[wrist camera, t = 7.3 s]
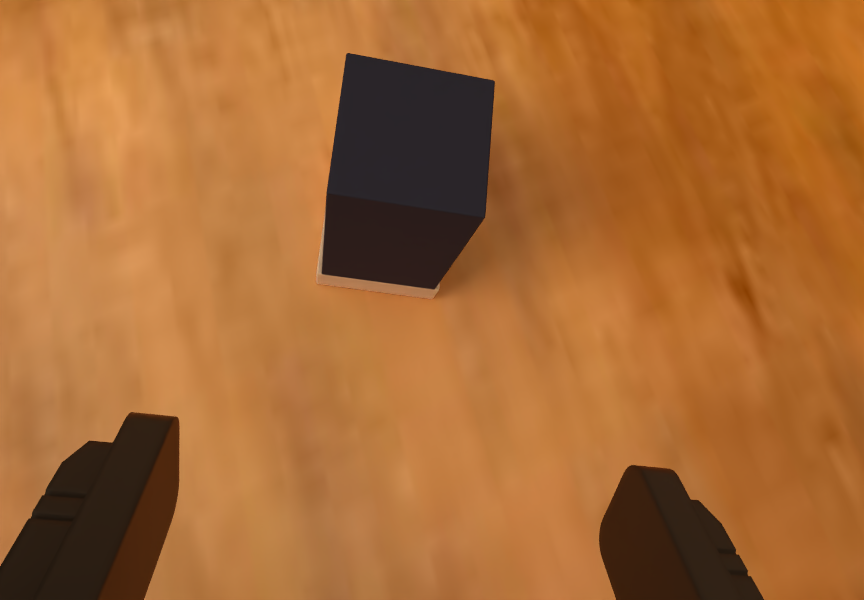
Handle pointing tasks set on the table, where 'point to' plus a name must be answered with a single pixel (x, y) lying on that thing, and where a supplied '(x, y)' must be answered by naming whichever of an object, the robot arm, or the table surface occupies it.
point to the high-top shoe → (404, 176)
